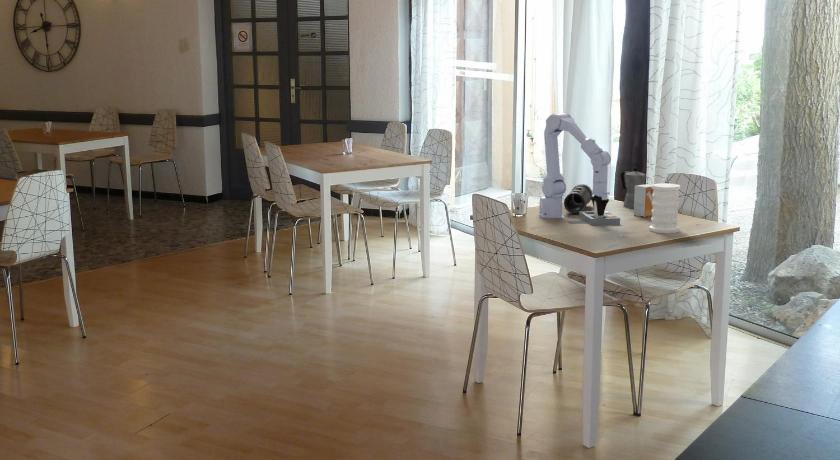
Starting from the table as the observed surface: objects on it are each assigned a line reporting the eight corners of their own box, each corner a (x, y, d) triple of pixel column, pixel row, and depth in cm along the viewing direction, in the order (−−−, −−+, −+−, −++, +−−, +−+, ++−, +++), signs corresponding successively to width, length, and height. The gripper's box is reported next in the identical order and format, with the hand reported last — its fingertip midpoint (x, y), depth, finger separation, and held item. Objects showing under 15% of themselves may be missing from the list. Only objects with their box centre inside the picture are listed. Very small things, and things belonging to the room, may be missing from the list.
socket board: (591, 226, 379) (591, 218, 378) (578, 218, 396) (579, 210, 396) (619, 225, 380) (620, 217, 379) (606, 217, 397) (606, 210, 397)
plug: (595, 221, 381) (596, 201, 379) (592, 219, 385) (593, 200, 383) (604, 221, 381) (605, 201, 380) (602, 219, 385) (602, 200, 384)
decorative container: (674, 227, 375) (676, 183, 372) (683, 233, 364) (685, 187, 361) (645, 227, 375) (647, 183, 372) (653, 233, 364) (655, 187, 360)
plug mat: (570, 225, 381) (570, 223, 381) (566, 222, 388) (566, 220, 388) (587, 224, 382) (587, 223, 382) (582, 221, 389) (582, 220, 389)
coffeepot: (652, 207, 421) (653, 168, 418) (637, 209, 416) (638, 169, 413) (627, 203, 434) (628, 164, 430) (612, 205, 429) (613, 166, 425)
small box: (644, 217, 397) (645, 187, 395) (633, 215, 402) (634, 185, 400) (657, 215, 402) (658, 185, 400) (645, 213, 407) (647, 183, 405)
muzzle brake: (562, 215, 403) (563, 191, 401) (571, 205, 430) (572, 183, 428) (585, 216, 401) (585, 192, 399) (592, 206, 427) (593, 183, 425)
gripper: (615, 184, 373) (614, 217, 376) (604, 179, 388) (603, 211, 390) (598, 184, 373) (596, 217, 375) (587, 179, 387) (586, 211, 389)
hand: (599, 214), depth 383 cm, fingers closed on plug, 4 cm apart
